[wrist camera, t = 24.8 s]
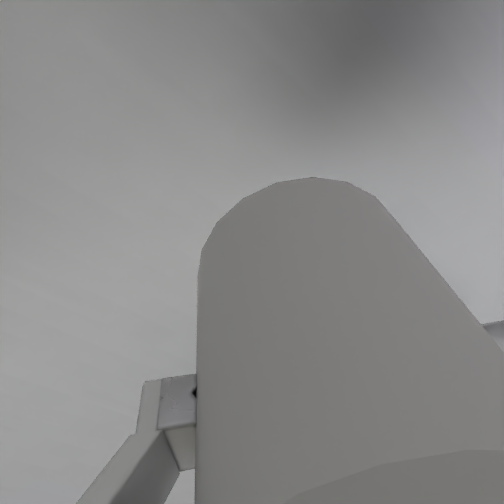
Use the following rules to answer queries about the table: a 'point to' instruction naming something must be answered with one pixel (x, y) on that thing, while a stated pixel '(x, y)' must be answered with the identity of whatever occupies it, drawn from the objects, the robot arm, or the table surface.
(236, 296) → the can
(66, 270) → the table surface
